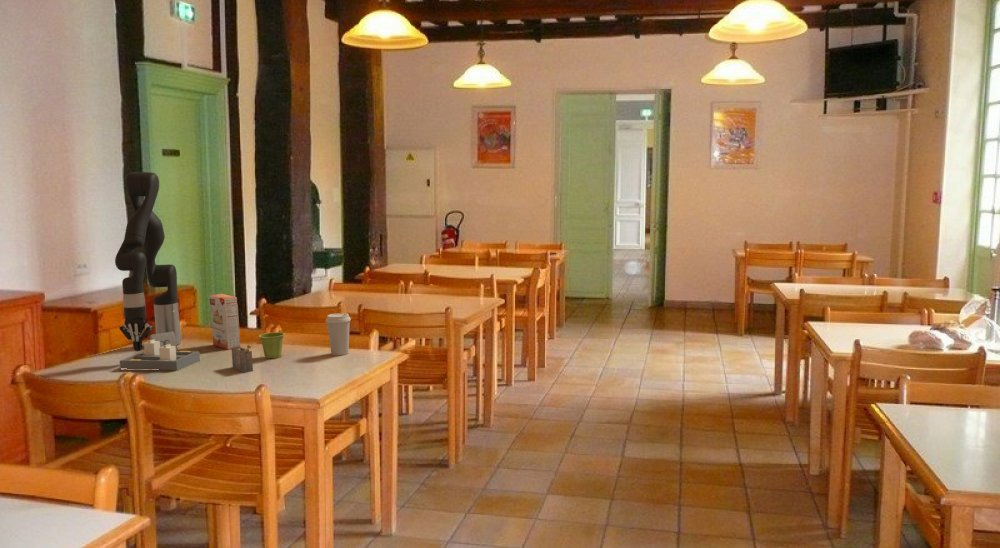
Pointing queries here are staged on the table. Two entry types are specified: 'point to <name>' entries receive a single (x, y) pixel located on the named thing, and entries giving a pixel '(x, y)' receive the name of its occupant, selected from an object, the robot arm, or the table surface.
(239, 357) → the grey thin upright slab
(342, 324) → the coffee cup
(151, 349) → the white block
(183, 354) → the grey compartment tray
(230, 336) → the cracker box
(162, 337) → the electrical switch
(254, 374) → the table surface
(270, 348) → the plant pot
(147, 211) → the robot arm
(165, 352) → the tab
